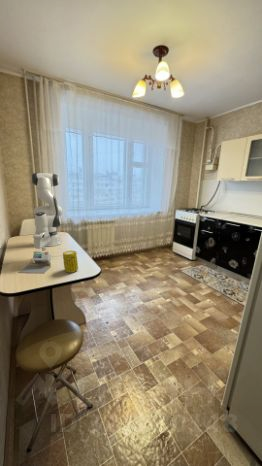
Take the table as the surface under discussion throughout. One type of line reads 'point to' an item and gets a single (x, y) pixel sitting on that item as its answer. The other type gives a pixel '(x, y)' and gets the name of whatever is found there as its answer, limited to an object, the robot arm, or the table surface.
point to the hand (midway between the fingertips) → (44, 250)
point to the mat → (34, 269)
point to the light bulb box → (42, 257)
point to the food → (70, 261)
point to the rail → (39, 264)
